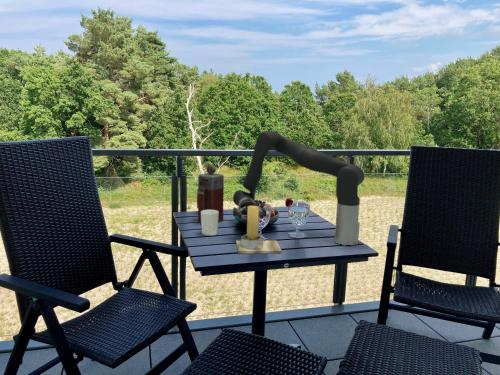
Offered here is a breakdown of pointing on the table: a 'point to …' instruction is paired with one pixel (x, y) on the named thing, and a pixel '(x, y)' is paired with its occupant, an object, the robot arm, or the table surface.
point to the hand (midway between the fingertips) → (251, 216)
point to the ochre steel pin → (252, 222)
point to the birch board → (268, 247)
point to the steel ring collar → (252, 242)
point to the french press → (210, 192)
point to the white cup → (209, 222)
